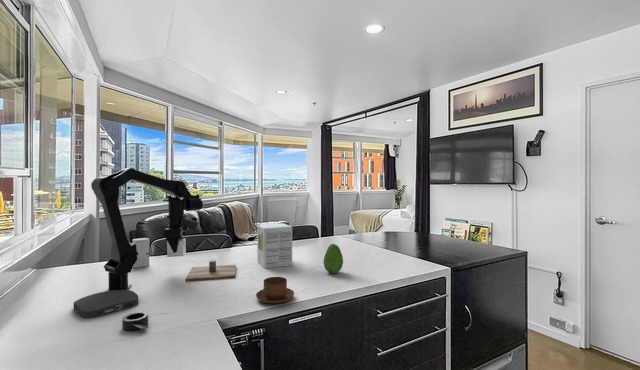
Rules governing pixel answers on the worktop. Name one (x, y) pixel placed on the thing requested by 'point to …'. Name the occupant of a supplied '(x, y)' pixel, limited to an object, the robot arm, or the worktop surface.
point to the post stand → (211, 272)
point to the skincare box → (142, 252)
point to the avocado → (333, 259)
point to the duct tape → (135, 321)
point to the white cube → (180, 250)
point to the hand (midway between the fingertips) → (176, 251)
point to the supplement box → (274, 245)
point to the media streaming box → (105, 303)
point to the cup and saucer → (275, 291)
